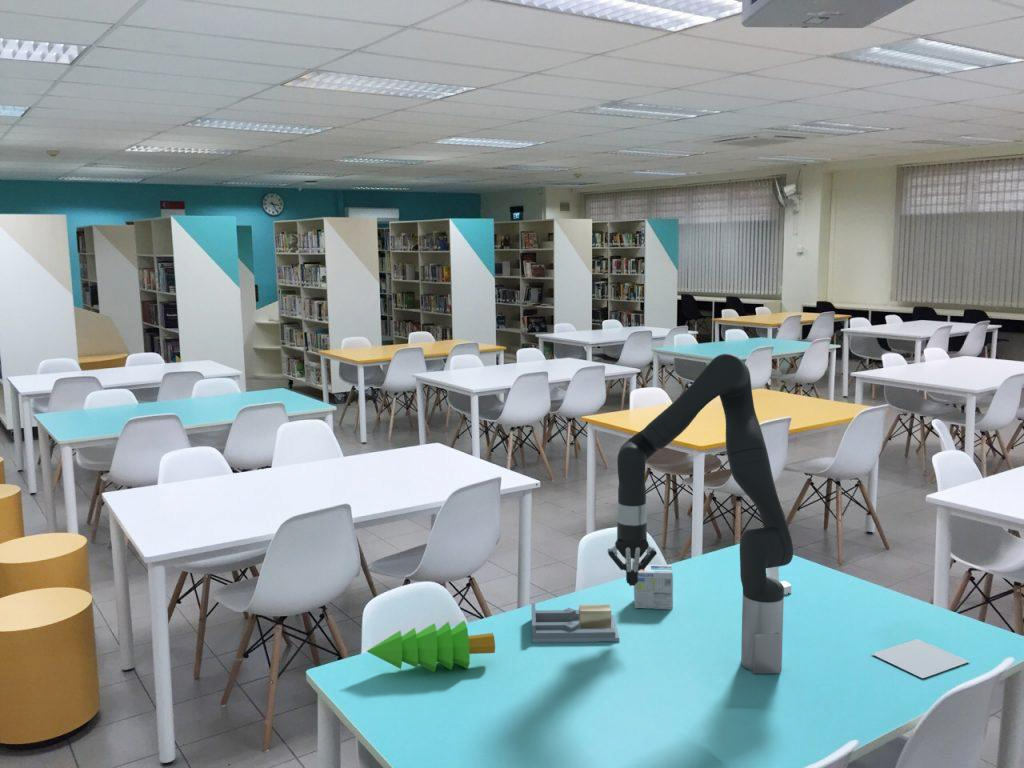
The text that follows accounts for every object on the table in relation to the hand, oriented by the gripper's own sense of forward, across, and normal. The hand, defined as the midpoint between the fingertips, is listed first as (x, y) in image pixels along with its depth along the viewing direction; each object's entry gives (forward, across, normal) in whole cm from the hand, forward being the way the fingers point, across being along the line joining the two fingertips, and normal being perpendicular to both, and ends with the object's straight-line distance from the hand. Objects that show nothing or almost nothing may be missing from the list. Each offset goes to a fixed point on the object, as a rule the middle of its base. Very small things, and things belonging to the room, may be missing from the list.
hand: (631, 584), depth 216 cm
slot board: (+12, +15, 0) cm, 19 cm away
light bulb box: (+13, -8, -16) cm, 22 cm away
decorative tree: (+12, +50, +20) cm, 55 cm away
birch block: (+11, +10, 0) cm, 15 cm away
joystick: (+13, -43, -25) cm, 51 cm away
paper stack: (+13, -68, +12) cm, 70 cm away
